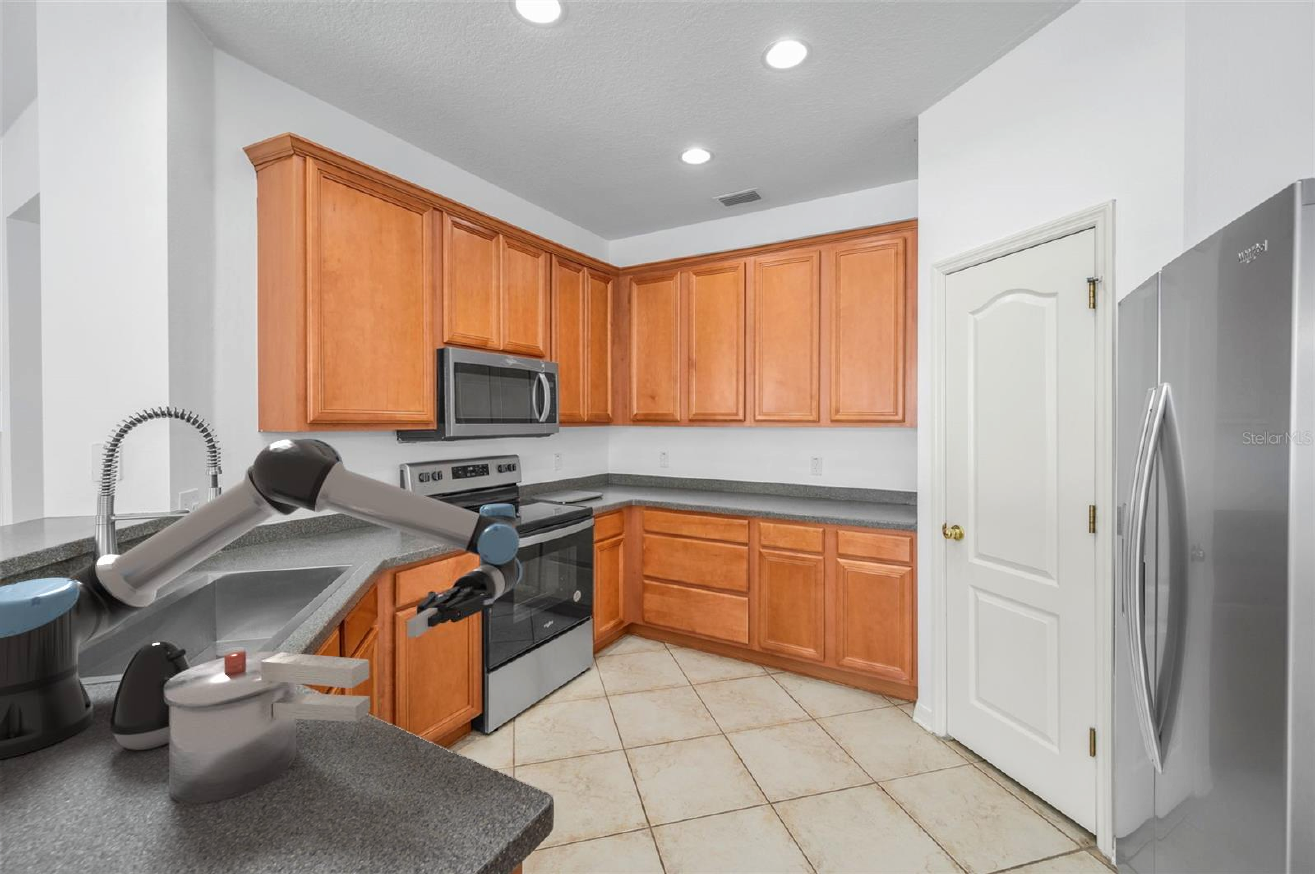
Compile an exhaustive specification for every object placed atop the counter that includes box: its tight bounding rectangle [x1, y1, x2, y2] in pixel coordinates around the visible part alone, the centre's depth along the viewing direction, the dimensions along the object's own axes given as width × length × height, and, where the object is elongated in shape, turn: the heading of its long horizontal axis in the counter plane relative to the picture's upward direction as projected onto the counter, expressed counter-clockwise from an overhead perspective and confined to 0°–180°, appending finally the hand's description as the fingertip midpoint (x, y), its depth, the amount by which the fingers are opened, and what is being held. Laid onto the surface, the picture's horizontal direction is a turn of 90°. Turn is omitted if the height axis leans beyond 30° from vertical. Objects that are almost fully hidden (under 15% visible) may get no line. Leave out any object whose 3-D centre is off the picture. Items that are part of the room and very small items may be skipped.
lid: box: [164, 650, 370, 708], centre depth 77 cm, size 28×15×4 cm, turn 79°
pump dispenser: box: [109, 640, 191, 751], centre depth 86 cm, size 10×10×15 cm
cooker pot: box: [168, 682, 371, 805], centre depth 77 cm, size 26×14×12 cm, turn 84°
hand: (411, 628), depth 88 cm, fingers closed
